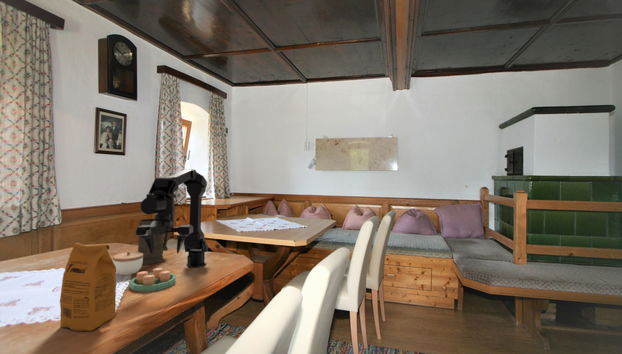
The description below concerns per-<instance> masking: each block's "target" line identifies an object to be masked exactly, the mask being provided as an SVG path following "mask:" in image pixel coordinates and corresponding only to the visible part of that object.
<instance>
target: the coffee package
mask: <svg viewBox="0 0 622 354" xmlns="http://www.w3.org/2000/svg"><path fill="white" fill-rule="evenodd" d="M109 250H110V245H108V244H98V245H97V244H96V245H84V244H82V243H80V242H77V241H76V242H74V245H73V246H72V250H71V252H70V254H69V257H68V260H67V262H66V266H65V269H64V272H63V275H62V280H61V281H62V282H61V289H60V298H59V305H60V326H59V327H60V328H70V329H71V330H73V331H75V332H85V331H86V332H87V331H88V332H92V331H94V330H96V329H97V328H98V327H100V326H101V325H104V323H106V322H108V321H110V320H112V319H114V317H115V316H116V315H117V313H116V305H117V304H116V302H117V301H116V296H117V291H116V289H117V272H116V267H115V264H114V263H113V258H112V257H111V255H110V254H109V252H108V251H109Z"/></svg>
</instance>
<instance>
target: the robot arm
mask: <svg viewBox="0 0 622 354" xmlns="http://www.w3.org/2000/svg"><path fill="white" fill-rule="evenodd" d="M182 184H184V185H185V187H186V192H187V194H188V196H189V197H190V198H189V224H182V225H180V226H178V227H177V226H176V225H175V224H176V223H175V220H174V219H175V215H176V214H175V212H174V211H175V210H174V209H175V201H174V200H175V199H176V198H177V195H176V194H175V192H176V191H178V189H179V186H180V185H182ZM207 185H208V181H207V179H206V178H205V177H204V175H202V174H201V173H199V172H197V170H196V169H193V168H184V169H182V170H181V171H178V172H176V173H173V174H171V175H168V176H157V177H155V179H154V181H153V182H152V184H151V187H150V189H149V191H148V193H147V194H146V197H145V198H144V199H142V200H141V204H140V209H141V211H142V212H143V214H145V215H147V216H149V215H154V214H155V215H154V219H155V220H154V221H153V222H152V223H151V225H142V226H139V225H138V226H137V227H136V228H135V234H134V235H135V236H139V235H140V236H139V237H142V238H143V239H144V240H145V241H146V243H147V245H148V248H149V250H150V252H151V254H152V253H153V250H154V234H160V235H163V236H164V235H165V233H166V232H170V233H177V235H176V238H177V242H176V243H177V244H176V253H177V254H179V253H180V251H181V248H182V246H184V252H185V253H188V255H187V261H186V266H189V267H191V268H198V267H201V266H205V265H207V263H206V262H205V260H206V259H205V254H206V253H207V252H208V249H209V245H208V243H207V241H206V238H205V233H204V232H203V230H202V228H201V227H202V201H203V200H202V199H203V196H204V195H205V192H206V190H207Z"/></svg>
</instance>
